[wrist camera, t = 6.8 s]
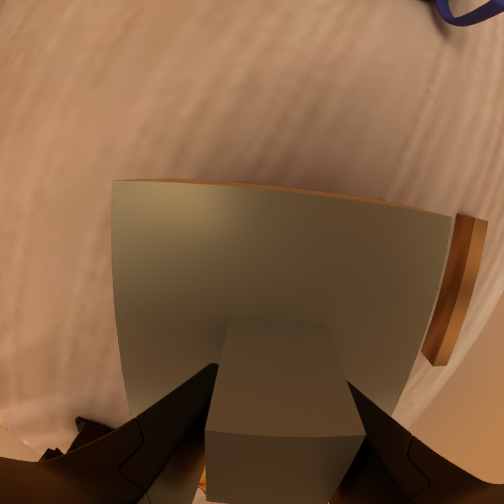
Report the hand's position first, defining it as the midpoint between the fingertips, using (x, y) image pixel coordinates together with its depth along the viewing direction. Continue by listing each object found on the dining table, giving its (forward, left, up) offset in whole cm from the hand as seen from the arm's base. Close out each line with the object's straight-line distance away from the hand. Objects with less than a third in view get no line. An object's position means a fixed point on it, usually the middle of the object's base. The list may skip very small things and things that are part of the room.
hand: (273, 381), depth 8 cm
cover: (0, 0, -7) cm, 7 cm away
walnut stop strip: (0, -15, -13) cm, 20 cm away
